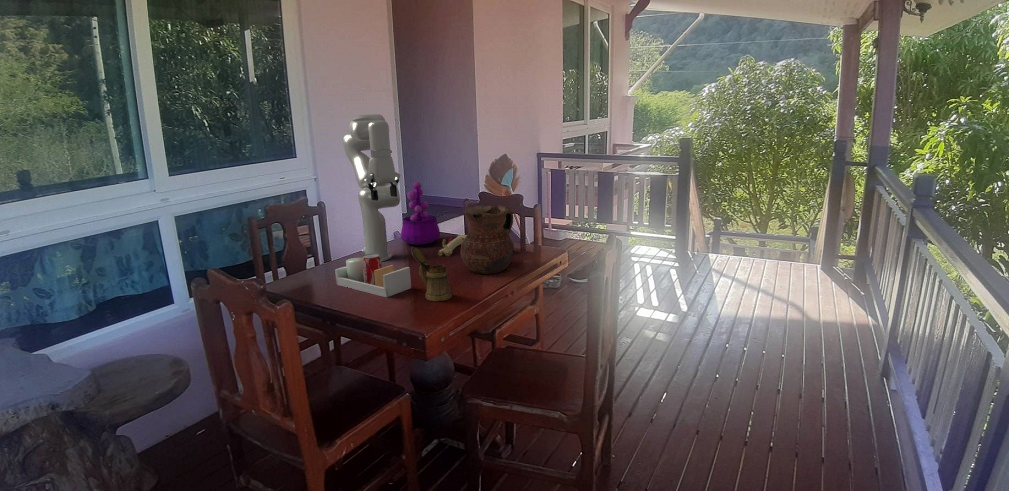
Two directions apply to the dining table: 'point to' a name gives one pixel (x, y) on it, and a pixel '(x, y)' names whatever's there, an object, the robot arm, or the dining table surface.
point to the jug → (488, 239)
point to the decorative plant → (419, 221)
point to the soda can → (371, 267)
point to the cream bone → (451, 245)
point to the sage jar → (355, 269)
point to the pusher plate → (381, 272)
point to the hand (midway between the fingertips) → (384, 198)
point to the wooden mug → (433, 278)
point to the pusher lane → (391, 283)
